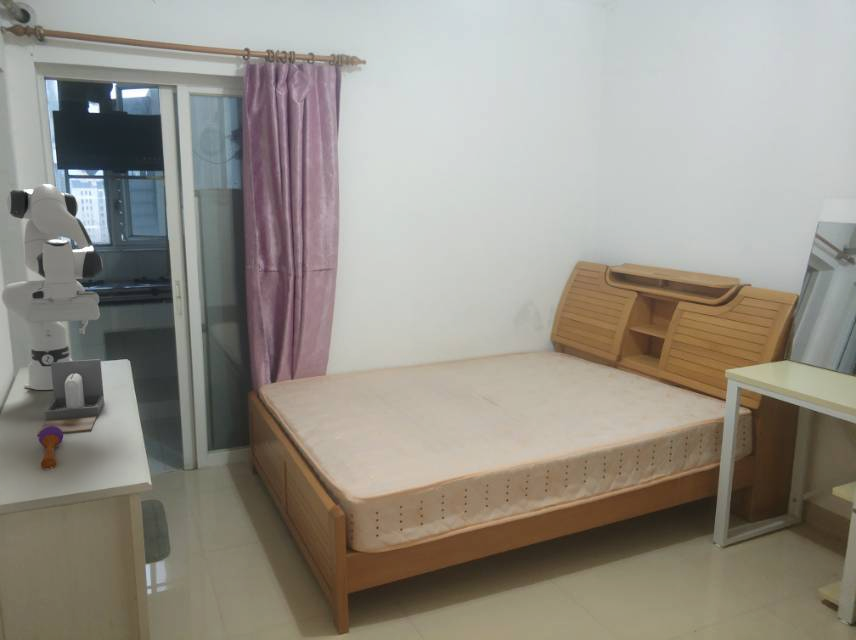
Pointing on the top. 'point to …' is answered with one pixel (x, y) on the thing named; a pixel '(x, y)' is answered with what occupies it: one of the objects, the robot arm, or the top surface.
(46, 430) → the maraca
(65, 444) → the top surface
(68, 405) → the photo printer
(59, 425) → the walnut board
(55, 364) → the equipment case
